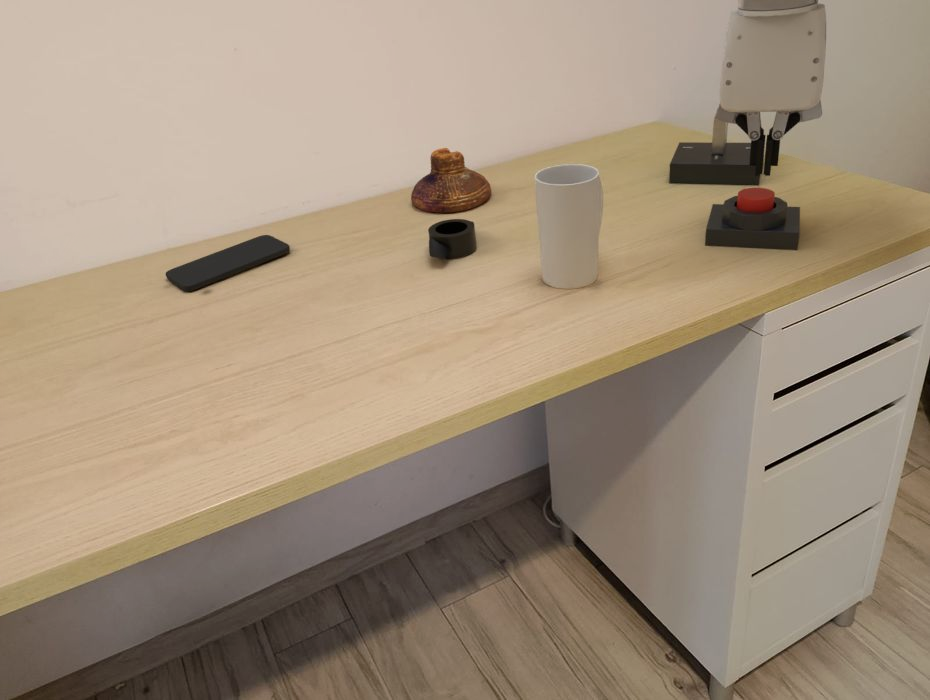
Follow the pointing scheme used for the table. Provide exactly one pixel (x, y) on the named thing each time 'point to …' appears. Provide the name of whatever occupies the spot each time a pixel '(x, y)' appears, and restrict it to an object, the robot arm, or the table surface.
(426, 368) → the table surface
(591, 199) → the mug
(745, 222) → the button box
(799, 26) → the robot arm
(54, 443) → the table surface
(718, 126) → the tap handle
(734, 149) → the plate
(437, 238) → the duct tape
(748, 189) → the button
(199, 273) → the phone
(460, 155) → the bell
